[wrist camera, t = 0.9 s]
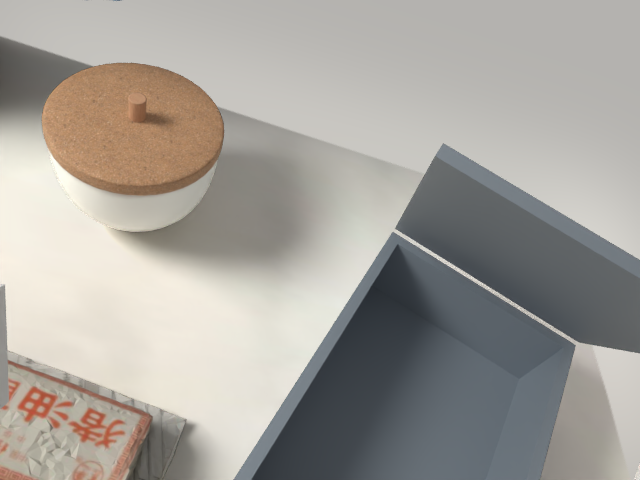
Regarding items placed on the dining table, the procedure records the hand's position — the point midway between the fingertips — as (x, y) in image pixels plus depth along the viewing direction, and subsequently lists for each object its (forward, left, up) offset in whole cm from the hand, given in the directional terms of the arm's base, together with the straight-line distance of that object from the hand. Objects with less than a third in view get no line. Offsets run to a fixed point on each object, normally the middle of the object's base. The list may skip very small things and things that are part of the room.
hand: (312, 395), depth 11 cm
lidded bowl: (-28, -3, -29) cm, 41 cm away
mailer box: (-6, +15, -29) cm, 33 cm away
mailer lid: (-10, +18, -13) cm, 24 cm away
